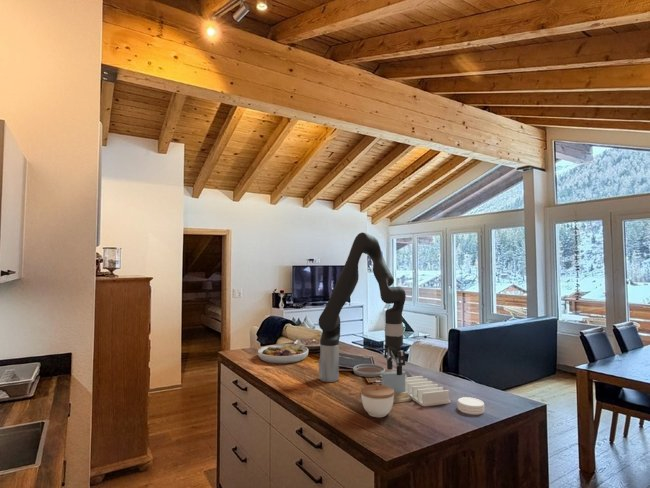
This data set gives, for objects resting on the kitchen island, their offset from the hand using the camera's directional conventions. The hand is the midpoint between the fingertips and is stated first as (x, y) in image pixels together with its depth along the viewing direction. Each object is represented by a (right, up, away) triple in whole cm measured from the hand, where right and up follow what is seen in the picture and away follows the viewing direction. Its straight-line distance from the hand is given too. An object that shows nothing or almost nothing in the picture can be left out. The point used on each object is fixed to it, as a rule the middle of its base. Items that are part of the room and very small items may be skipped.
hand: (394, 372), depth 165 cm
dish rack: (+13, -11, +3) cm, 18 cm away
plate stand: (-1, -11, -1) cm, 11 cm away
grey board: (-1, -10, -1) cm, 10 cm away
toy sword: (-3, -13, +33) cm, 36 cm away
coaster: (+28, -11, -12) cm, 32 cm away
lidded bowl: (-9, -11, -16) cm, 21 cm away
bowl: (-55, -14, +66) cm, 87 cm away
